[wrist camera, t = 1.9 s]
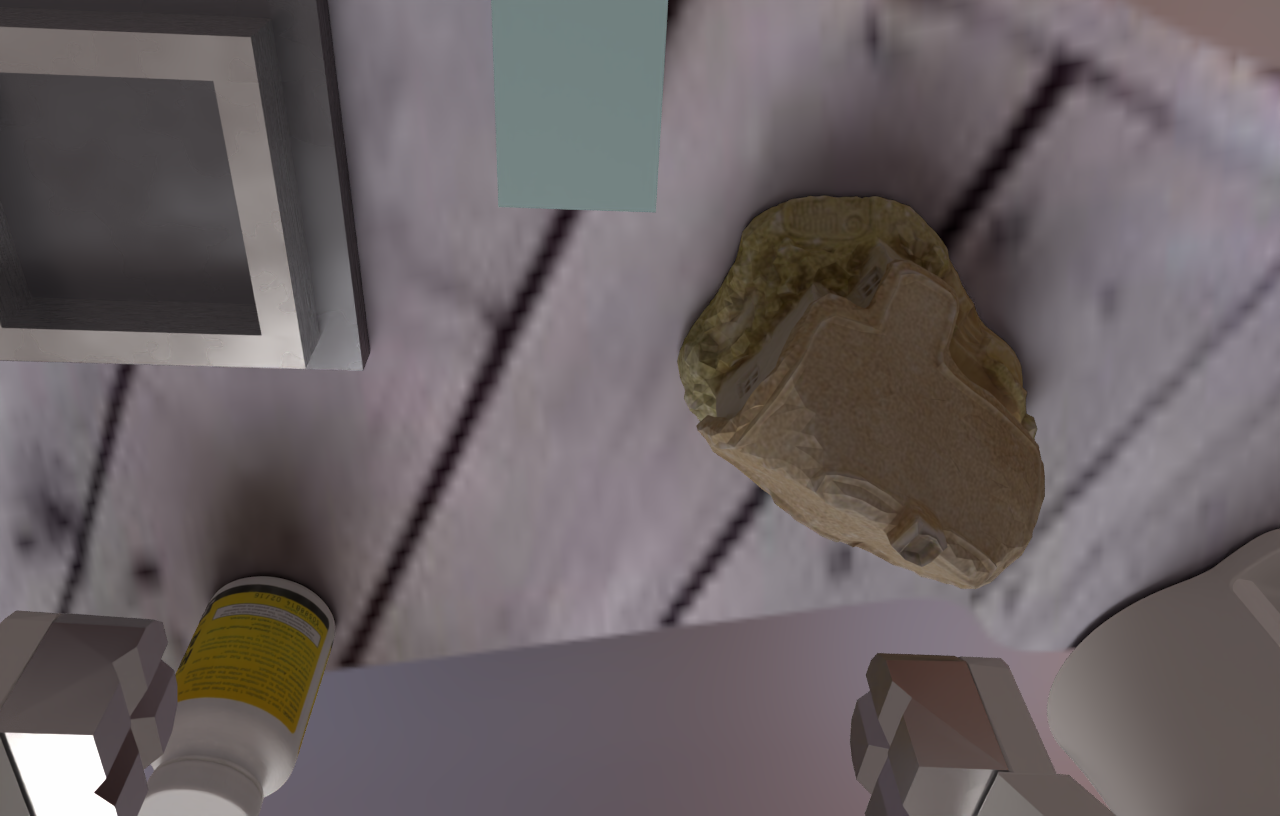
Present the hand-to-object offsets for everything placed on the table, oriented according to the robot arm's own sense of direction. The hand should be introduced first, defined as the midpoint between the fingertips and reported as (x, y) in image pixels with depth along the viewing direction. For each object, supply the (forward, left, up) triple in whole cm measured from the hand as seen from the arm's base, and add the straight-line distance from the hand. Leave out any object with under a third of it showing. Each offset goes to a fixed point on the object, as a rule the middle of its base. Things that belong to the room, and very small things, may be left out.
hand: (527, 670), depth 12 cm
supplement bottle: (+13, +23, -23) cm, 36 cm away
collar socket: (+14, +3, -23) cm, 27 cm away
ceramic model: (-10, +10, -24) cm, 28 cm away
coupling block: (0, -2, -23) cm, 23 cm away
